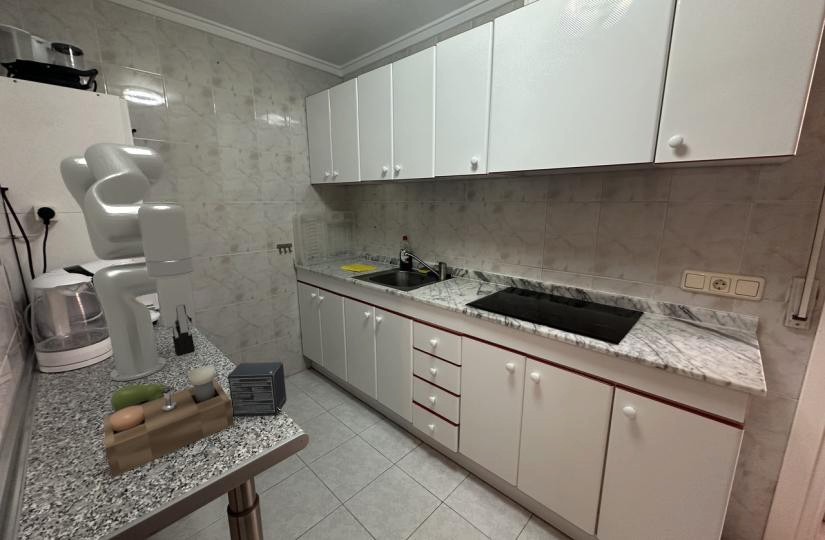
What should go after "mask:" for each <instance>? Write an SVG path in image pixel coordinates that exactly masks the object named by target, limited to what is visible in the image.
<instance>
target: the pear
mask: <svg viewBox="0 0 825 540" xmlns="http://www.w3.org/2000/svg"><path fill="white" fill-rule="evenodd" d="M163 388H165V387H164V385H163V384H158V383H149V384H131V385H126V386H122V387H120V388H118V389H117V390H115V391H114V392H113V394H112V395H111V397H110V406H111V407H112V408H113V409H114V410H116V411H119V410H121V409H124V408H127V407H130V406H138V405H140V403H143V402H146V401H147V402H150V401H153V400H156V399H159V398H162V397H163V395H164V393H162V389H163Z"/></svg>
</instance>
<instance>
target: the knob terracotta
mask: <svg viewBox="0 0 825 540" xmlns="http://www.w3.org/2000/svg"><path fill="white" fill-rule="evenodd" d="M111 415H112V414H111ZM143 420H144V412H143V407H142V406H138V405H135V406H130V407H127V408H124V409H121V410H116V412H113V415H112V416H111V417H110V421H111V425H112V429H113V430H115V431H117V432H118V433H120V432H123V431H125V430H128V429H131V428H133V427H136V426H139V425H141V424H142V423H141V422H142V421H143Z"/></svg>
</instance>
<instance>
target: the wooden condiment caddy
mask: <svg viewBox="0 0 825 540" xmlns="http://www.w3.org/2000/svg"><path fill="white" fill-rule="evenodd" d="M213 384H214V391H215V398H212V399H209V400H206V401H204V402H201V403H198V404H197V402H196V396H195V390H194V386H192V387H189V388H186V389H183V390H180V391H178V392H174V393H172V394H171V393H170V396H171V401H172V402H176V405H177V407H176V408H175V409H174V410H172V411H169V412H163V411H162V406H163V405H164V404H166V403H165V397H164V396H162V398H159V399H156V400H153V401H147V402H144V403H142V404H137V406H142V407H143V412H144V420H143V421H142V422H141V423H142V424H141V425H139V426H136V427H133V428H131V429H128V430H125V431H123V432H120V433H118V432H117V431H115V430H113V429H112V425H111V421H110V417H111V416H112V415H113V414H114V413H113V414H112V413H111V414H108V415H105V416H104V417H103V429H104V431H103V432H104V448H105V453H106V457H107V462H108V466H109V469H110V474H111V478H114V477H117V476H120V475H122V474H123V473H126V472H128V471H131V470H133V469H135V468H138V467H140V466H142V465H145V464H146V463H147V464H148V463H149V462H151V461H153V460H156V459H159V458H161V457H163V456H165V455H168V454H170V453H172V452H174V451H176V450H178V449H181V448H183V447H186V446H188V445H191V444H192V443H195V442H198V441H199V440H202V439H204V438H206V437H209V436H211V435H213V434H215V433H218V432H220V431H222V430H225V429H227V428H230V427H231V426H234V425H235V421H234V416H233V411H232V402H231V397H230V396H228V394H227V393H226V392H225V390H224V389H223V387H222V386H221V384H220V383H219V381H218V380H217V379H213Z"/></svg>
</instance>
